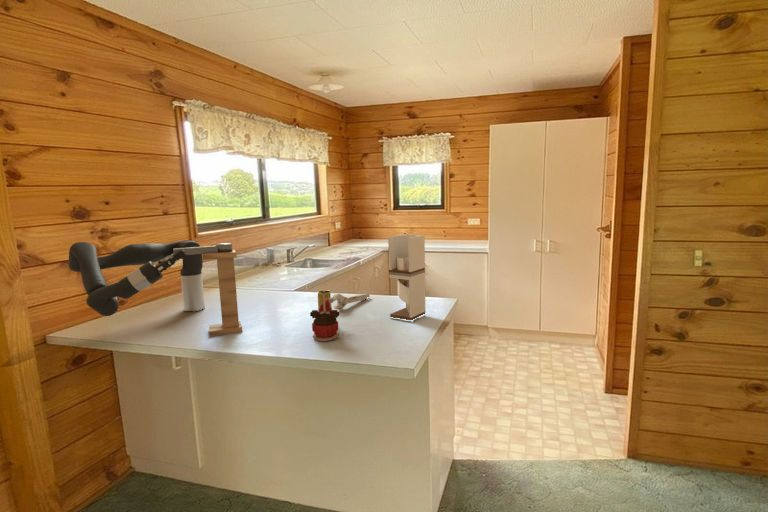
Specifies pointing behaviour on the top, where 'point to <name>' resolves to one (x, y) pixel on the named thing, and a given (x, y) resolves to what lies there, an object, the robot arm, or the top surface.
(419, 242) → the beige cubby tower
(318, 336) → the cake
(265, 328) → the top surface
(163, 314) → the top surface
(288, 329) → the top surface
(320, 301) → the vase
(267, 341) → the top surface
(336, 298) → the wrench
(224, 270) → the shelf stand
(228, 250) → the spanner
